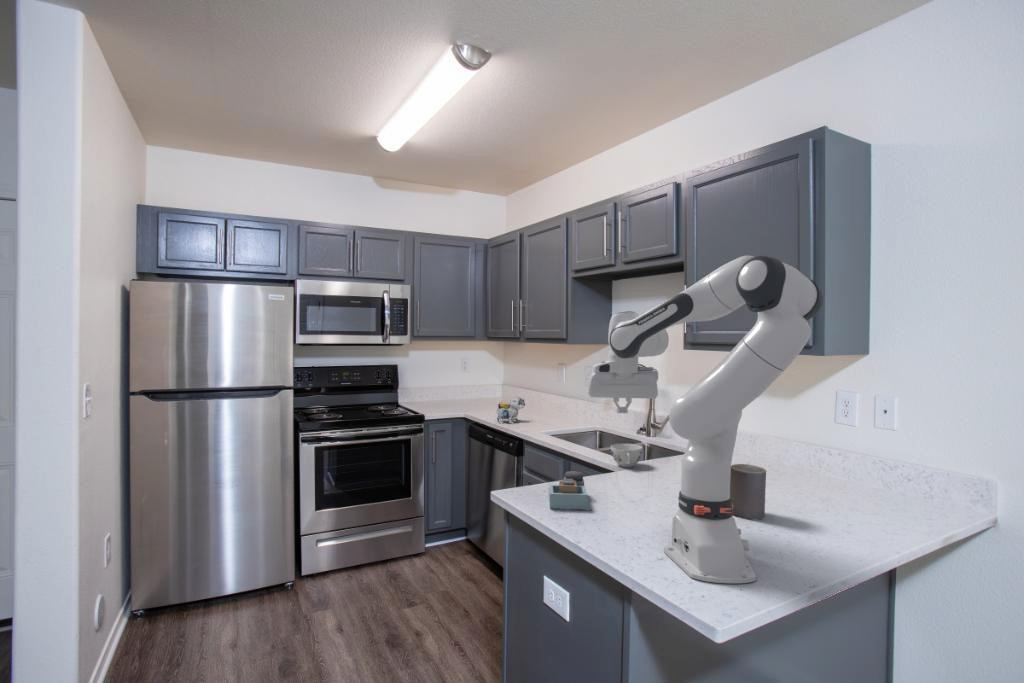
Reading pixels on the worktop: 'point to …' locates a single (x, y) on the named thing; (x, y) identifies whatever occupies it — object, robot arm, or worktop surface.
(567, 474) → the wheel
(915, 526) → the worktop surface
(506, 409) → the robotic toy
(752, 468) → the pillar candle
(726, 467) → the robot arm
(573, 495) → the teal open storage bin
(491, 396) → the worktop surface
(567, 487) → the brown wooden block
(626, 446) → the teacup
